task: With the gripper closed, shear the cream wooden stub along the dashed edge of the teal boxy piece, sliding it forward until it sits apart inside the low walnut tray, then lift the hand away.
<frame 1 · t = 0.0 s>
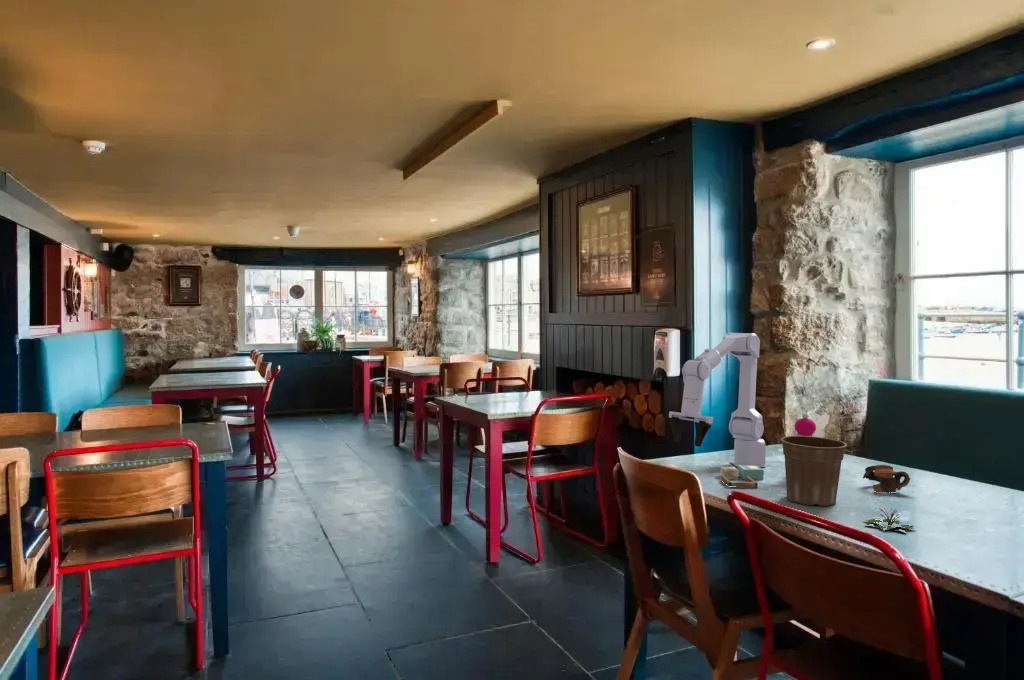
hand: (687, 444, 208), 11 cm above the table, tool pointing down, fingers open, 7 cm apart
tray: (738, 484, 203), on the table
teal boxy piece: (750, 477, 211), on the table
lily flower: (889, 529, 163), on the table
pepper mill: (804, 479, 210), on the table
pottery mug: (885, 491, 197), on the table
plant pot: (811, 501, 185), on the table
stub: (729, 478, 211), on the table
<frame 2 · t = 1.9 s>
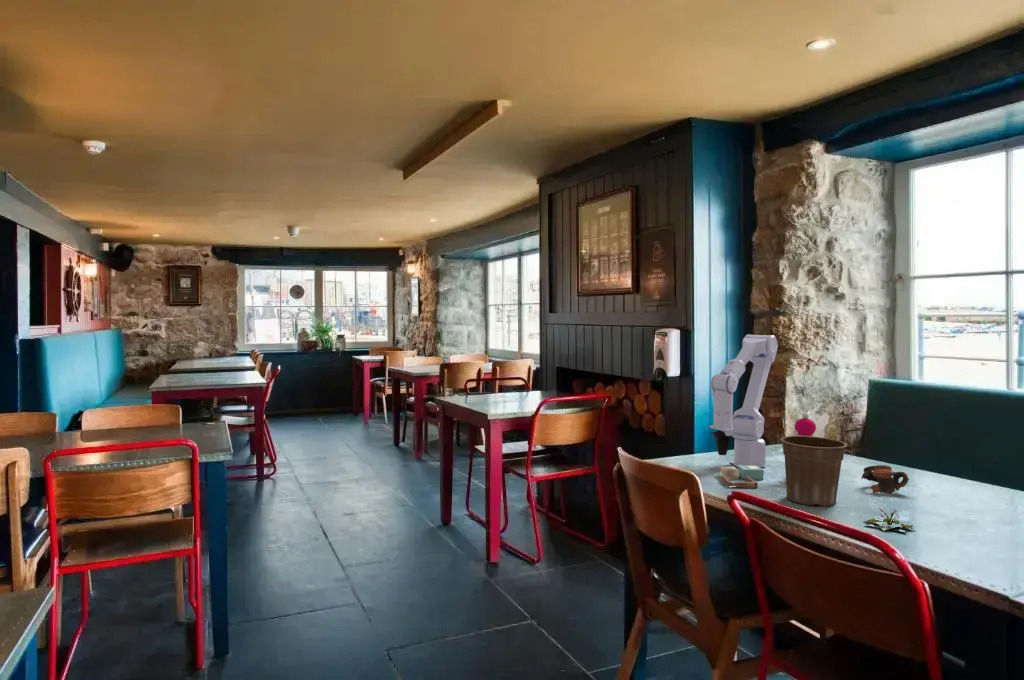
hand: (722, 454, 218), 5 cm above the table, tool pointing down, fingers closed
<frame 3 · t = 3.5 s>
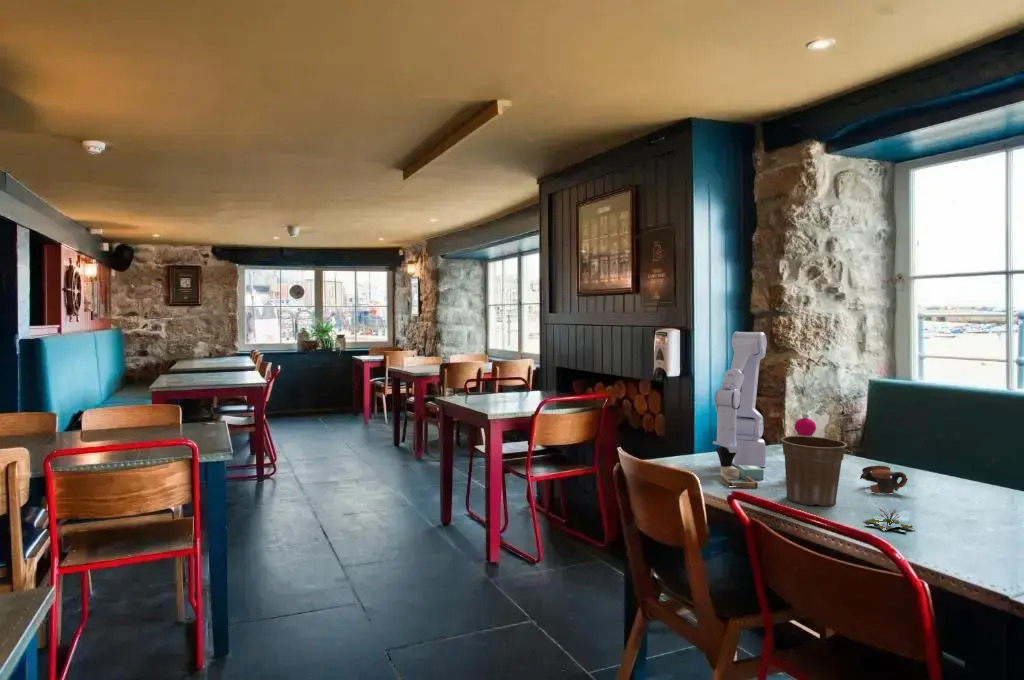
hand: (725, 471, 215), 1 cm above the table, tool pointing down, fingers closed
stub: (729, 477, 211), on the table, touching gripper
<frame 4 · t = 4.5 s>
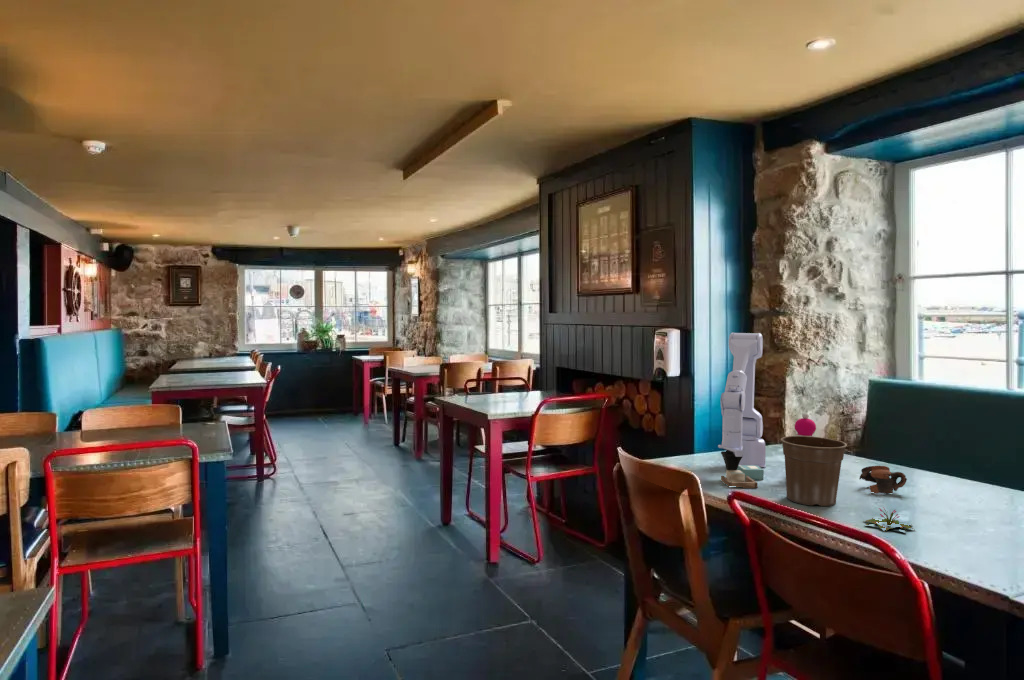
hand: (731, 475, 209), 1 cm above the table, tool pointing down, fingers closed
stub: (735, 482, 205), on the table, touching gripper
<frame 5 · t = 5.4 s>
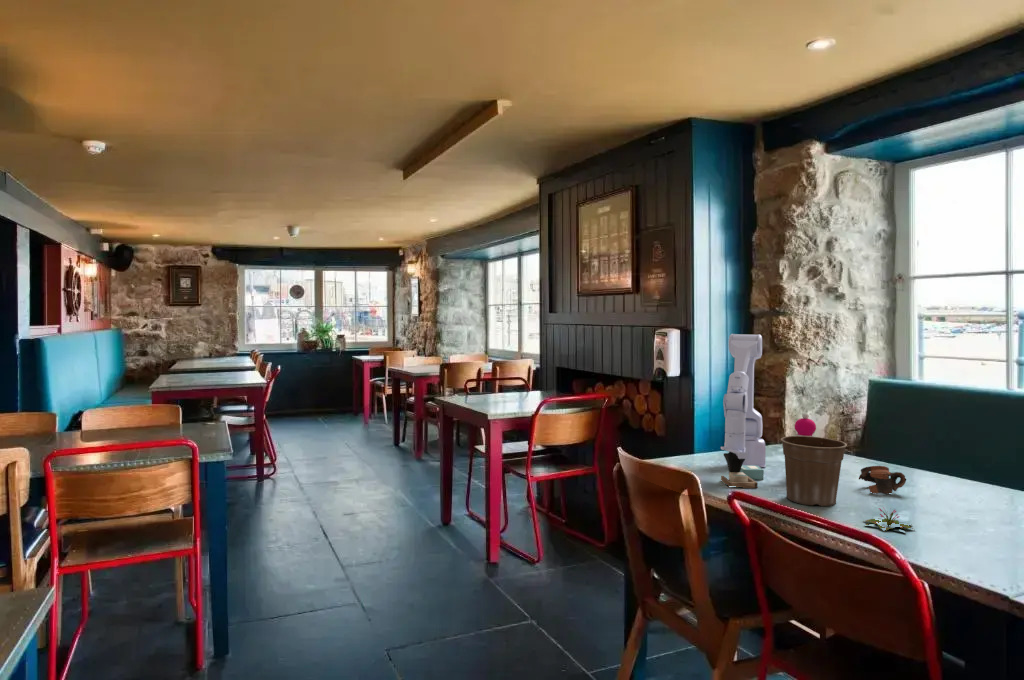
hand: (734, 477, 206), 1 cm above the table, tool pointing down, fingers closed
stub: (738, 484, 203), on the table, touching gripper
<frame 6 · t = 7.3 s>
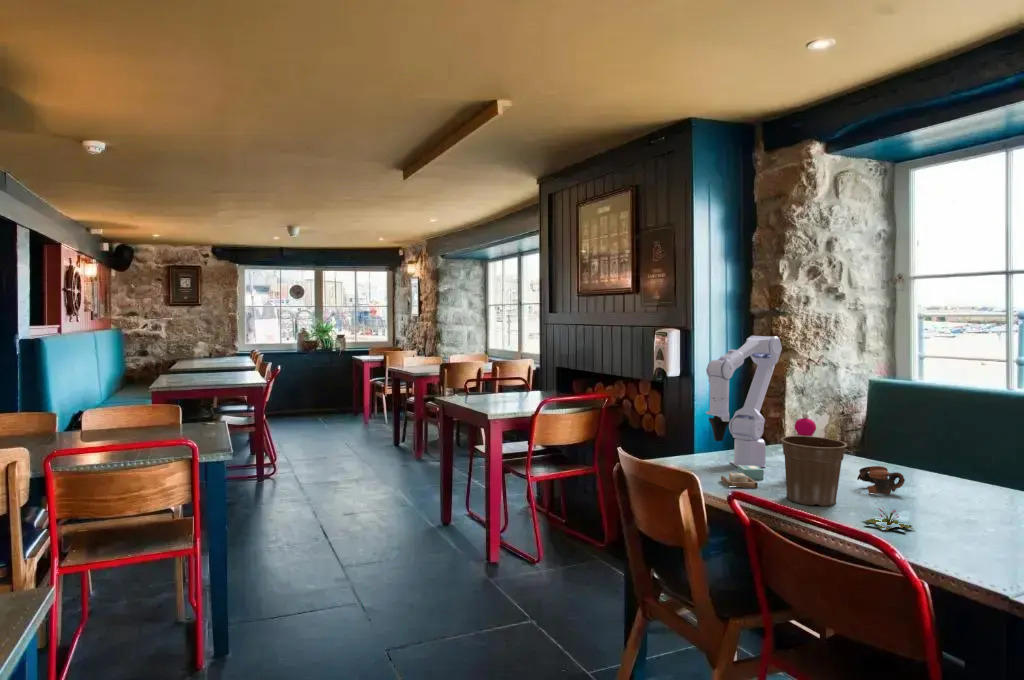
hand: (718, 440, 219), 10 cm above the table, tool pointing down, fingers closed
stub: (738, 485, 203), on the table
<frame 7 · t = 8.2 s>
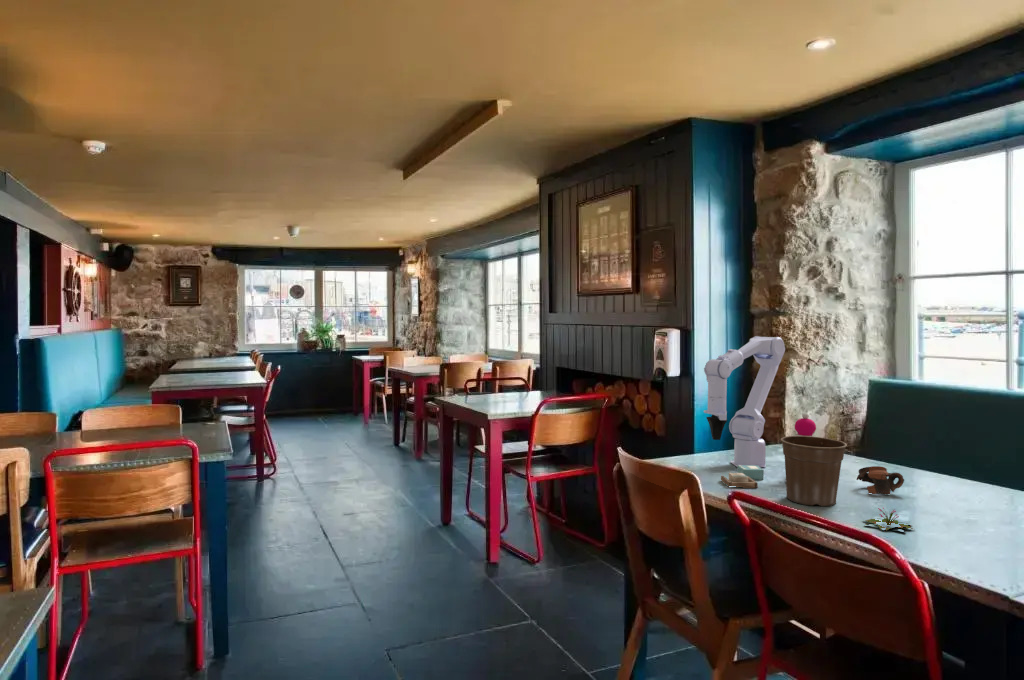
hand: (716, 439, 220), 10 cm above the table, tool pointing down, fingers closed
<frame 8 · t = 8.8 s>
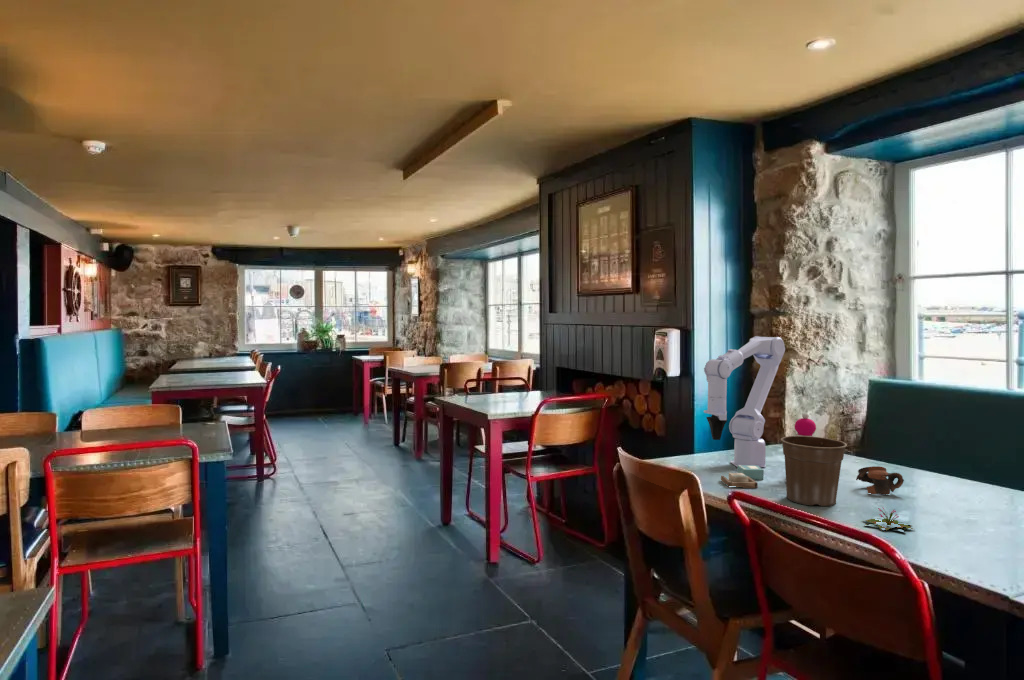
hand: (716, 439, 220), 10 cm above the table, tool pointing down, fingers closed
at the end: stub 0.2 cm off-centre on the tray, point 0.0 cm above the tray's base; stub touching table; stub tilted 0° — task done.
